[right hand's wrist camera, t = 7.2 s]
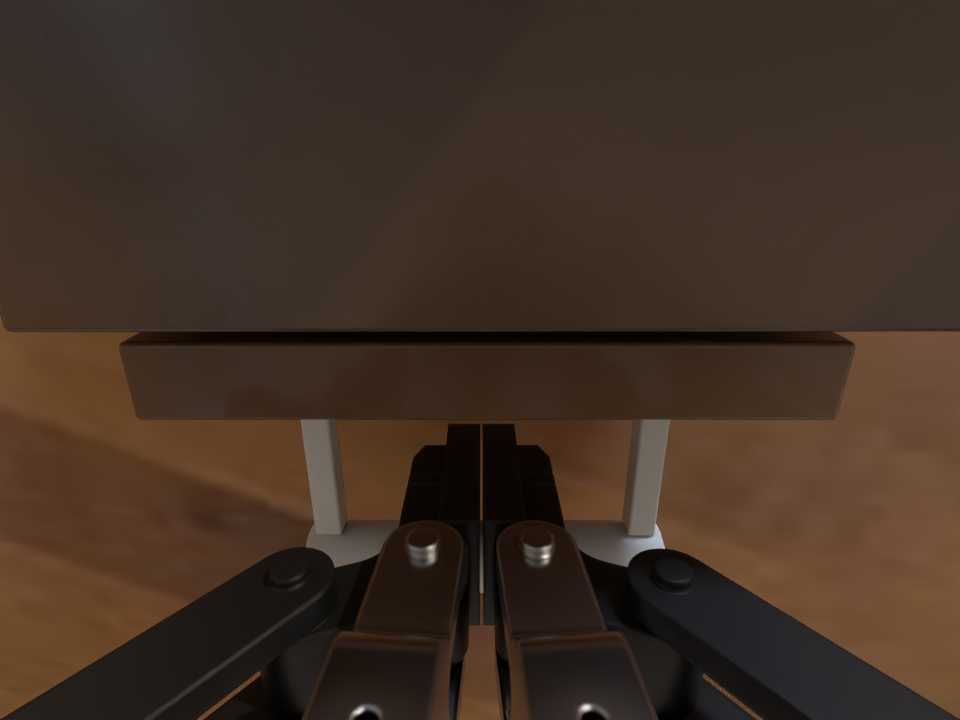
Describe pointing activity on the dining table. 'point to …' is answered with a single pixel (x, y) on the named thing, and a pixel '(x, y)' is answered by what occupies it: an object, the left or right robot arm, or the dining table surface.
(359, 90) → the dark wooden box
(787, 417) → the drawer
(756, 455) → the dining table surface
